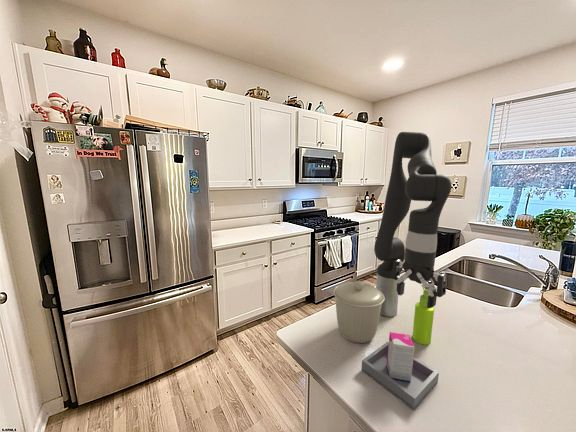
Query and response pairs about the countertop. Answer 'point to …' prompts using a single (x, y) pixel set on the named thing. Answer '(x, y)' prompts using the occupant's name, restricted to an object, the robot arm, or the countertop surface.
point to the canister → (358, 310)
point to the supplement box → (400, 357)
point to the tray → (405, 391)
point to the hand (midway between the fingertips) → (414, 300)
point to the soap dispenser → (423, 320)
